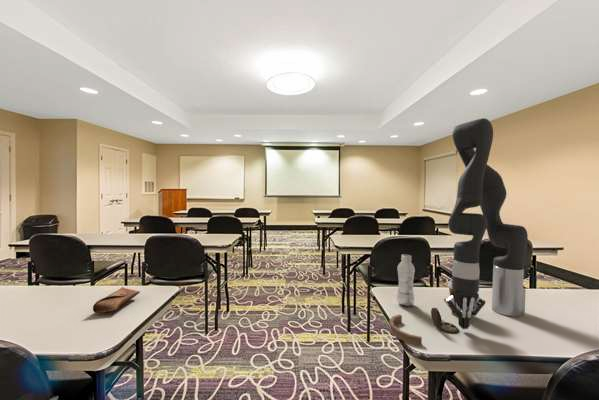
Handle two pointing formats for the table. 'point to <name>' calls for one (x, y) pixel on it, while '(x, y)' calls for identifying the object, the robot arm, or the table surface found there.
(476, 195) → the robot arm
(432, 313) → the compass
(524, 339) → the table surface
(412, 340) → the brown segmented arc
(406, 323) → the table surface
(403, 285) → the plastic bottle
